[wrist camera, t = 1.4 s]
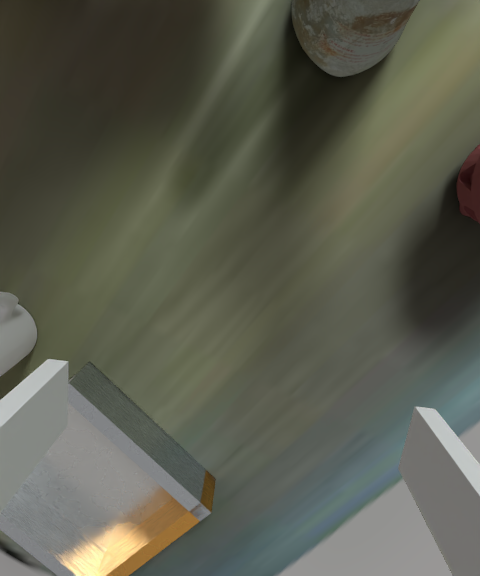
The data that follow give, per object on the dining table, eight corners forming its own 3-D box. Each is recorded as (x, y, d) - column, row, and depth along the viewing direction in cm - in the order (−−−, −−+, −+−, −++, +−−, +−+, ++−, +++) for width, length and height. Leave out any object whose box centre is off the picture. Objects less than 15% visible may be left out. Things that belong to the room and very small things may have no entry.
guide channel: (-17, 460, 43) (-48, 491, 38) (89, 361, 39) (69, 383, 35) (107, 563, 45) (91, 603, 41) (215, 479, 42) (211, 512, 38)
